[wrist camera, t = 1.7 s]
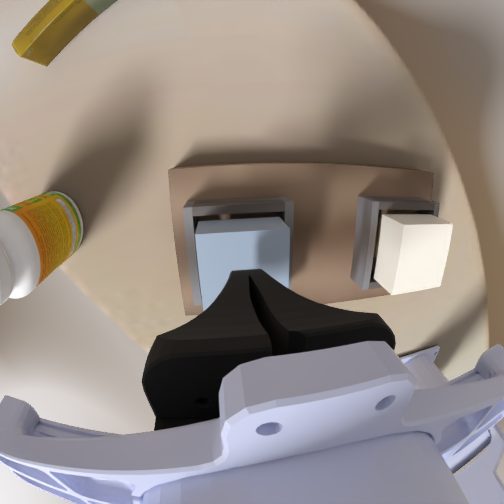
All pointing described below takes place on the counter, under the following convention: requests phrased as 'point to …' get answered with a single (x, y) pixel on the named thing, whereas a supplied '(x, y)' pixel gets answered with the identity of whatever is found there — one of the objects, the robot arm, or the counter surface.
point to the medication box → (56, 28)
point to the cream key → (412, 252)
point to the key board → (300, 218)
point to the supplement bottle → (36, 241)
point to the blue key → (240, 251)
